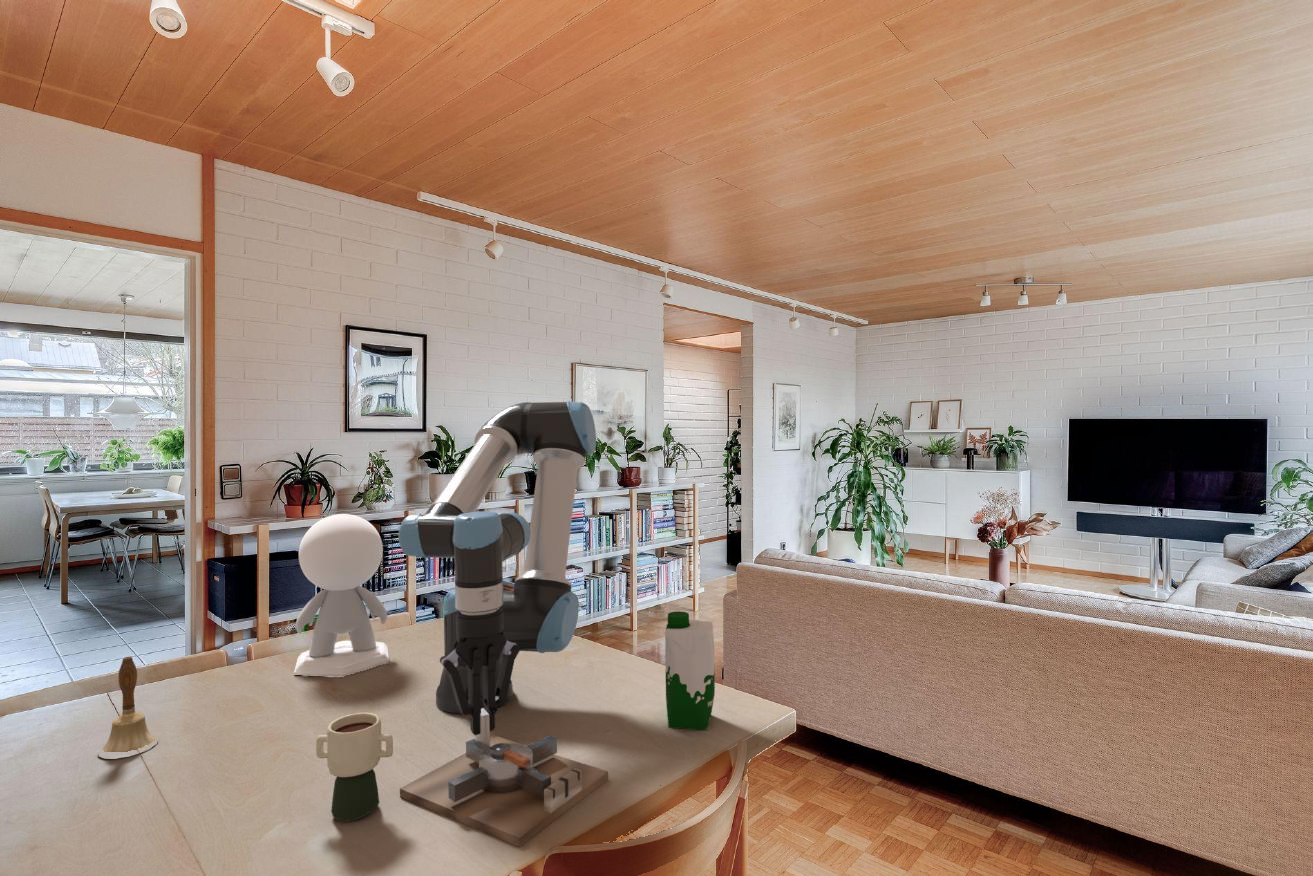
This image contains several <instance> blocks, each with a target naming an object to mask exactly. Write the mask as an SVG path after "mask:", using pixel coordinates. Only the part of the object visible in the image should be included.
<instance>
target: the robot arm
mask: <svg viewBox="0 0 1313 876" xmlns="http://www.w3.org/2000/svg"><path fill="white" fill-rule="evenodd" d="M594 420H595V419H594V415H593V412H592V411H591V409H590V407H589V406H588V404H586V403H585V402H579V401H569V400H567V401H553V402H552V401H551V402H550V401H549V402H530V401H529V402H520V403H515V404H513V405H510V406H508V407H506V408H504V409H501V411H499V412H497V413H496V414H495V415H493V416H492V417H490V419H488V420H487V421H486V422H485V423H484V424H483V425H482V427H481V428H480V429H479V430H478V431H477V432H476V434H475V437H474V445H473V446H472V448H471V449H470V451H469V452H468V453H467V455H466V457H465V458H464V459H463V460H462V462H461V463H460V464H459V466H458V468H457V469H456V471H455V472H454V473H453V474H452V476H451V477H450V479H449V480H448V481H447V483H446V485H444V487H443V488H442V490H441V491H440V493H439V494H438V495H437V497H436V498H435V500H434V501H433V502H432V504H431V505H430V506H429V508H428V509H427V511H426V512H425V513H424V514H421V513H417V514H410V515H408V516H406V517H405V518H404V519H403V520H402V522H401V524H400V526H399V530H398V542H399V543H398V544H399V546H400V549H401V551H402V552H403V553H404V554H405V555H406V556H409V557H410V556H411V557H416V558H417V557H418V558H426V559H429V558H438V559H440V558H441V559H442V558H444V559H445V558H446V559H447V558H449V559H451V558H453V559H454V560H453V561H454V588H453V589H451V590H450V591H448V592H447V593H446V595H445V596H444V601H443V612H442V616H443V639H444V640H443V643H444V644H443V646H444V648H443V649H444V655H443V656H441V657H440V659H439V663H440V664H441V665H442V667H443V669H442V672H441V675H440V680H439V685H438V686H437V688H436V689H435V690H436V691H435V705H436V706H437V708H439V709H440V710H442V711H443V712H448V713H453V714H461V715H464V716H468V715H469V723H470V725H469V726H470V732H471V733H472V734H473V735H474V736H475V737H476V738H475V739H476V740H478V741H480V742H482V743H484V744H486V745H488V746H490V740H491V738H490V736H491V734H490V732H491V731H494V730H495V728H496V717H495V715H496V713H497V712H498V709H497V708H499V707H500V708H501V707H503V706H505V705H506V704H507V703H508V702H509V701H511V700H512V698H513V696H514V695H513V694H514V693H513V689H514V688H513V681H512V675H513V670H514V666H515V661H516V659H517V656H518V655H519V653H520V652H533V653H535V652H536V653H537V652H538V653H540V654H544V653H558V652H562V651H563V650H564V649H566V648H567V647H568V646H569V645H570V643H571V641H572V639H573V637H574V633H575V631H576V628H577V624H578V623H577V622H578V620H579V619H578V618H579V605H580V604H579V598H578V595H577V594H576V593H574V592H573V591H572V583H570V581H569V580H568V579H567V578H566V577H567V576H566V573H567V564H568V563H567V562H568V555H569V546H570V537H571V531H572V530H571V529H572V520H573V511H574V502H575V494H576V493H575V492H576V485H577V484H576V483H577V476H578V470H579V469H580V468H582V467H583V466H584V465H585V464H586V458H587V455H591V454H593V453H594V452H596V451H595V450H596V447H597V432H596V431H597V430H596V425H595V421H594ZM523 454H530V455H531V454H532V459H533V460H534V462H536V464H537V465H538V466H537V471H536V473H537V474H536V480H535V486H534V487H535V488H534V493H533V500H532V501H533V502H532V509H531V514H530V516H531V517H530V523H529V522H528V520H527V519H526V518H525V517H524V516H522V515H520V514H519V513H515V512H502V513H500V514H499V513H498V512H496V511H483V510H482V511H477V510H478V508H479V506H480V505H481V503H482V501H484V499H485V497H486V496H487V494H488V492H489V491H490V489H491V487H492V486H493V484H494V482H495V481H496V480H497V478H498V476H499V474H500V473H501V471H502V470H503V468H504V467H505V465H506V464H509V463H511V462H512V461H514V459H515V458H516V456H519V455H523ZM525 548H526V552H525V558H524V564H523V565H524V567H523V573H521V574H520V575H519V576H518V577H516V578H515V579H514V582H513V583H514V584H513V588H512V589H513V590H504V580H503V579H504V578H503V575H504V574H503V571H504V570H503V567H504V566H503V562H505V561H507V560H508V559H510V558H512V557H514V556H517V555H519V554H520V553H521V552H522V551H523V550H524V549H525Z"/></svg>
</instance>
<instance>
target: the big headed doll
mask: <svg viewBox="0 0 1313 876" xmlns="http://www.w3.org/2000/svg"><path fill="white" fill-rule="evenodd" d="M383 551H384V547H383V541H382V538H381V536H380V534H379V531H378V530H377V529H376V527H375V526H374V525H373V524H372V523H370V521H368V520H366V519H365V518H363V517H361V516H358V515H355V514H349V513H337V514H332V515H329V516H325V517H324V518H321V519H320V520H318V521H317V522H316V523H314V524H313V525H312V526H311V527H309V529H308V530H307V531H306V532H305V534H304V535H303V537H302V539H301V542H300V544H299V547H298V563H299V566H300V568H301V571H302V573H303V575H304V576H305V577H306V579H307V580H308V581H309V582H311V584H313V585H315V586H316V587H318V588H320V589H322V590H320V591H319V592H318V593H316V594H315V595H314V596H313V597H312V598H311V599H310V600H309V601H308V602H307V603H306V604H305V606H304V607H303V608H302V610H301V611H300V613H299V614H298V616H297V618H296V621H295V622H296V623H295V630H296V632H297V633H298V634H299V635H300V634H302V633H303V630H304V629H303V627H305V626H306V625H308V626H309V627H312V626H313V624H314V620H315V617H316V615H317V613H318V615H317V617H316V618H317V619H316V621H315V625H314V629H313V632H312V637H311V641H310V645H309V646H310V647H309V649H308V650H306V651H303V652H301V653H300V654H299V655H298V657H297V660H296V663H295V668H294V671H293V676H294V675H306V676H305V677H308V676H307V675H310V676H311V675H312V676H314V675H315V676H316V675H317V676H342V678H344V677H343V676H346V675H348V674H352V673H355V672H358V673H361V672H360V671H362V670H365V669H368V668H371V667H374V668H377V667H376V666H378V665H381V666H383V665H382V664H384V665H386V664H385V663H387V664H389V663H390V656H389V647H388V646H387V644H386V643H384V642H383V641H381V642H379V641H376V639H375V635H374V630H373V627H372V624H371V620H370V617H369V614H368V613H370V615H371V618H372V619H373V620H375V619H376V617H377V618H379V619H380V621H381V624H382V625H384V624H386V623H387V620H388V612H387V609H386V607H385V606H384V604H383V603H382V601H380V599H379V598H378V597H377V596H376V595H375V594H374V593H373V592H371V591H370V590H369V589H367V588H365V587H363V586H362V585H363V584H365V583H367V582H368V581H369V580H370V579H371V578H372V577H373V576H374V575H375V573H376V572H377V571H378V569H379V567H380V565H381V562H382V559H383ZM365 605H366V606H365ZM367 609H368V610H369V612H368V611H367ZM341 634H348V636H349V639H350V640H341V641H336V640H337V636H338V635H341ZM378 667H379V666H378ZM371 669H372V668H371ZM368 670H369V669H368ZM365 671H366V670H365ZM362 672H363V671H362ZM355 674H356V673H355ZM352 675H353V674H352ZM346 677H347V676H346Z"/></svg>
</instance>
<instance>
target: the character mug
mask: <svg viewBox="0 0 1313 876" xmlns="http://www.w3.org/2000/svg"><path fill="white" fill-rule="evenodd" d="M393 739H394V737H393V735H392V734H389V733H382V720H381V717H380V715H379V714H376V713H373V712H372V713H371V712H357V713H352V714H348V715H344V716H341V717H337V718H336V719H334V720H333V721H331V722H330V723H329V724H328V726H327V727H326V734H319V735H318V736H316V740H315V741H316V742H315V747H316V750H315V752H316V753H315V754H316V757H317V758H318V759H326V760H327V761H326V762H327V763H326V764H327V768H328V771H329V773H330V774H331V775H332V776H334V777H335V779H334V784H333V785H334V786H333V793H332V799H331V800H332V801H331V810H330V812H331V815H332V816H333V818H335V819H337V820H339V821H354V820H357V819H359V818H362V817H365V816H367V814H369V813H371V812H373V811H374V810H375V809H376V808H377V807H378V806H379V803H380V798H379V797H380V796H379V789H378V782H377V777H376V776H377V775H376V772H375V768H376V767H377V766H378V764H379V763H380V760H381V758H389V757H392V756H393V754H394V740H393ZM383 742H385V749H384V750H383V749H382V743H383ZM324 743H326V750H324Z"/></svg>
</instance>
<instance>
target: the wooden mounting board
mask: <svg viewBox="0 0 1313 876" xmlns="http://www.w3.org/2000/svg"><path fill="white" fill-rule="evenodd" d="M499 743H507V744H521V745H525V744H522V743H519V742H516V741H512V740H510V739H506V738H504V737H500V736H498V735H497V736H494V737H493V738H490V747H491V746H493V745H495V744H499ZM525 746H527V745H525ZM477 768H479V763H477V762H475V761H473V760H471V759H469V758H467V757H466V752H465V753H463V754H461V755H459V756H458V757H456V758H454V759H452V760H450V761H449V762H446V763H445V764H443V765H441V766H439V767H437V768H436V769H433V770H432V771H429V772H428V773H426V774H423V776H421V777H419V778H417V779H415V780H414V781H411V782H409V783H407V784H406V785H403V786H402V787H400V788H399V797H400V798H403V799H405V800H407V801H409V802H412V803H414V804H417V805H419V806H421V807H425V808H427V809H428V810H431V811H432V812H433V811H434V812H436V813H438V814H440V815H443V816H445V817H447V818H450V819H452V820H455V821H456V822H459V823H461V824H463V825H465V826H466V825H467V826H468V827H472V828H474V829H476V830H479V831H480V832H483V833H485V834H488V835H489V836H490V835H491V836H493V837H495V838H497V839H500V840H502V841H505V842H507V843H509V844H511V845H513V846H516V847H519V848H520V847H523V845H525V844H526V843H527V842H529V841H530V840H531V839H532V838H533V837H535V836H536V835H538V834H539V833H541V831H542V830H544V829H545V828H547V827H548V826H549V825H551V824H552V823H553V822H555V821H556V820H557V819H558V818H560V817H561V816H562V815H564V814H565V813H566V812H568V811H569V810H570V809H571V808H573V807H574V806H575V805H576V804H578V803H579V802H580V801H582V800H583V799H585V798H586V797H587V796H589V795H590V794H591V793H593V792H594V791H596V789H598V788H599V787H601V785H602V784H604V783H605V782H607V781H608V780H609V771H608V770H604V769H602V768H598V767H594V766H591V765H589V764H585V763H583V762H579V761H576V760H572V759H570V758H567V757H563V756H560V755H556V754H553V755H551V756H549V757H547V758H545V759H543V760H541V761H539V762H537V763H535V764H533V768H534V769H536V770H538V771H540V772H542V773H544V774H546V775H548V776H550V777H551V785H550V786H549V787H547V788H546V789H544V797H543V798H542V797H540V796H538V795H536V794H534V793H533V792H531V791H529V790H527V789H525V788H523V787H521V788H519V789H516V790H512V791H507V792H494V791H489V790H486V789H484V788H483V789H481V790H479V791H477V792H475V793H473V794H471V795H469V796H467V797H465V798H463V799H460V800H458V801H456V802H454V801H452V800H451V799H449V791H448V782H449V781H451V780H453V779H455V778H458V777H460V776H462V775H464V774H466V773H469V772H471V771H473V770H475V769H477Z"/></svg>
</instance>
